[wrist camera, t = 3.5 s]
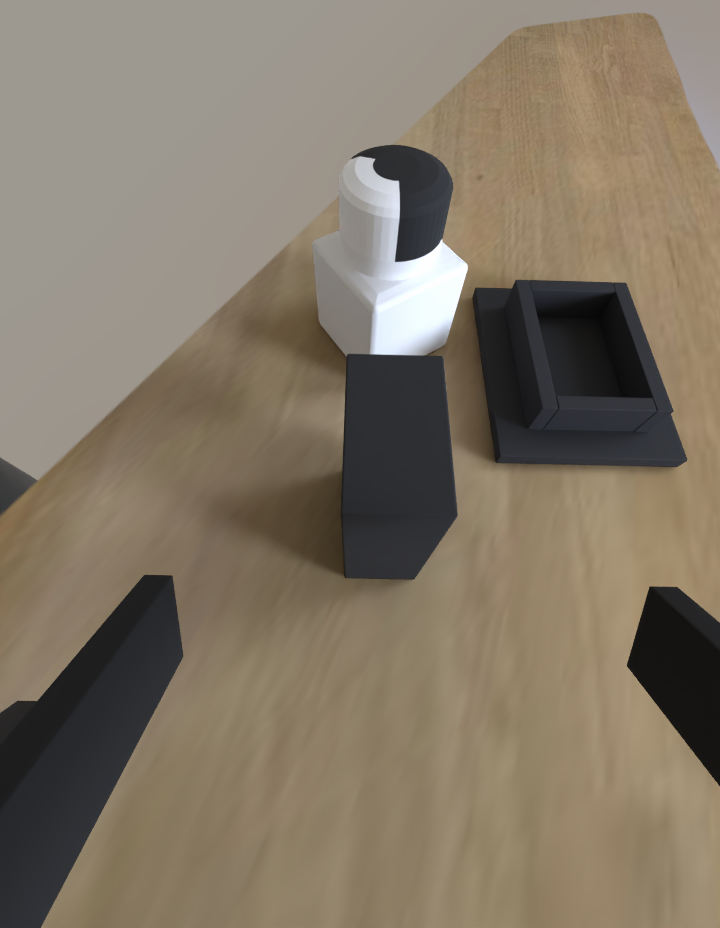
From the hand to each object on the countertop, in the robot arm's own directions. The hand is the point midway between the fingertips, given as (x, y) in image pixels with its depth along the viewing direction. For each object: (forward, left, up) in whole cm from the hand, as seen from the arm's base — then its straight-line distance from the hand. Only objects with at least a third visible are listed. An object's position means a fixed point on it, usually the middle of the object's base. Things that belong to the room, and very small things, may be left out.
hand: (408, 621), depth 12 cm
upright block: (-3, +6, -12) cm, 14 cm away
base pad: (+5, +22, -12) cm, 26 cm away
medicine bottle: (-8, +20, -12) cm, 25 cm away
